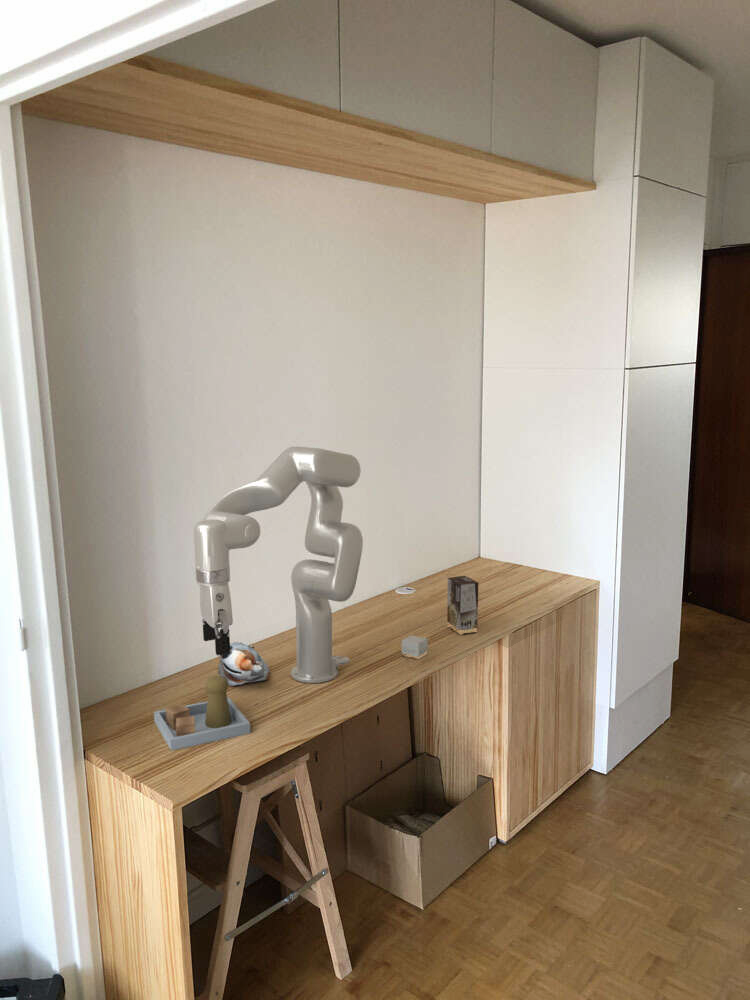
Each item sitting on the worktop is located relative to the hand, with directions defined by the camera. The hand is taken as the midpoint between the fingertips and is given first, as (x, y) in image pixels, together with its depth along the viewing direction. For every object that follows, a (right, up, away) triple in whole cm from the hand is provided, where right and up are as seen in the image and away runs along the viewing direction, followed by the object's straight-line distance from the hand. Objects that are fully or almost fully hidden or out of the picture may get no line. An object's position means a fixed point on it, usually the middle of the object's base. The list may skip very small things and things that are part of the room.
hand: (216, 646), depth 190 cm
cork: (0, -19, +4) cm, 19 cm away
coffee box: (+63, -7, +69) cm, 94 cm away
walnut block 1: (-9, -19, +2) cm, 21 cm away
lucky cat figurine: (+2, -14, +29) cm, 33 cm away
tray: (-4, -19, +1) cm, 20 cm away
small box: (+48, -11, +47) cm, 68 cm away
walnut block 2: (-6, -20, -4) cm, 21 cm away
